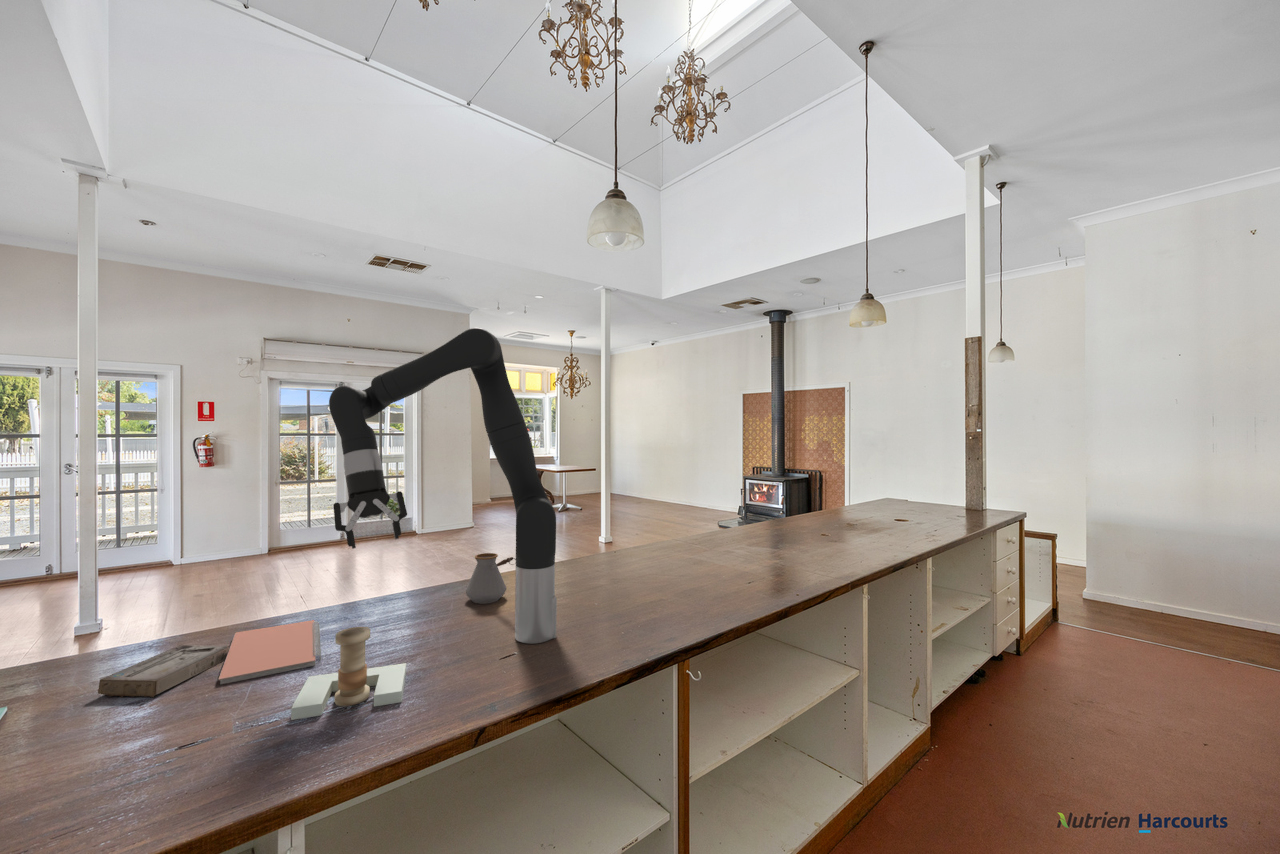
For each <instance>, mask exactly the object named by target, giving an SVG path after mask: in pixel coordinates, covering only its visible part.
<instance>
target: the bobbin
mask: <svg viewBox="0 0 1280 854" xmlns="http://www.w3.org/2000/svg"><path fill="white" fill-rule="evenodd" d="M334 637H335V639H334V640H335V644H336V645H339V647H340V652H339V653H340V654H339V657H340V658H339V659H340V661H339V662H340V663H339V667H340V668H338V670H337V673H338V689H339V691H335V694H334V704H335V705H336V706H338V707H350V706H351V707H352V706H355V705H359V704H361V703H363V702H364V701H366V700H368V699H369V698H370V691H371V690H370V689H371V688H370V687H371V686H368V685H365V684H366V683H367V669H368V664H367V663H366V641H368V640H369V639H370V638H371V628H370V627H367V626H354V627H348V628H345V629H341V630H339V631H338V632H337V633H336V634H335V636H334Z"/></svg>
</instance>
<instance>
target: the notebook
mask: <svg viewBox="0 0 1280 854" xmlns="http://www.w3.org/2000/svg"><path fill="white" fill-rule="evenodd" d="M320 626H321V625H320V623H319V622H318V621H315V620H314V619H312V620H306V621H300V622H294V623H293V622H291V623H286V624H281V625H275V626H269V627H268V626H267V627H261V628H256V629H249V630H243V631H237V632H235V633H234V636H233V638H232V641H231V643H230V645H229V648H228V650H229V652H228V654H227V657H226V659H225V660H224V663H223V666H222V668H221V671H220V674H219V677H218V679H217V680H218V681H219V685H225V684H230V683H235V682H239V681H240V682H241V681H244V680H249V679H250V680H251V679H255V678H260V677H264V676H265V677H266V676H270V675H275V674H278V673H285V672H290V671H294V670H298V669H299V670H300V669H304V668H309V667H314V666H316V656H319V661H321V660H322V652H321V651H322V650H321V629H320Z"/></svg>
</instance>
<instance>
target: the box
mask: <svg viewBox="0 0 1280 854" xmlns="http://www.w3.org/2000/svg"><path fill="white" fill-rule="evenodd" d="M229 649H230V645H199V644H196V645H194V644H179V645H177V646H174V647H172V648H170V649H167V650H166V651H163V652H161V653H159V654H156V655H153V656H151V657H149V658H146V659H145V660H141V661H140V662H138V663H135V664H133V665H131V666H129V667H126V668H123V669H121V670H119V671H117V672H113V673H112V674H110V675H107V676H104V677H102V678H100V679H99V682H98V689H97V694H98V695H104V696H109V697H114V696H115V697H117V696H118V697H121V698H123V697H132V698H134V697H138V698H139V697H143V698H146V697H151V698H155V696H157V695H159V694H161V693H163V692H164V691H167V690H170V689H171V688H173V687H176V686H177V685H179V684H181V683H183V682H184V681H186V680H189V679H191V678H193V677H195V676H197V675H199V674H200V673H202V672H204V671H207V670H208V669H210V668H212V667H214V666H216V665H218V664H219V663H221V662H223V661H224V662H225V660H226V657H227V654H228V652H229Z"/></svg>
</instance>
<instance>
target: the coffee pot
mask: <svg viewBox="0 0 1280 854" xmlns="http://www.w3.org/2000/svg"><path fill="white" fill-rule="evenodd" d="M498 557H499V555H498V554H497V553H494V552H483V553H478V554H476V555H475V556H474V559H475V560H476V566H475V567H474V571H473V573H472V575H471V577H470V579H469V581H468V584H467V586H466V589H465V594H466V596H467V598H469V600H471V601H472V602H473V603H475V604H481V605H483V604H484V605H485V604H492V603H495V602H498V601H499V600H500V598H501V597H503V596H504V595H505V594H506V591H507V586H506V583H505V581H504V579H503V577H502V573H501V572H500V569H499V567H500V566H504V565H506V564H507V563H508V564H509V565H510V566H511V565H512V566H514V565H515V563H512V564H511V561H513V560H515V561H516V557H515V558H514V557H510V556H509V557H507V558H505V559H503V560H501V561H499V562H498V563H497V562H496V561H497V558H498Z"/></svg>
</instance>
